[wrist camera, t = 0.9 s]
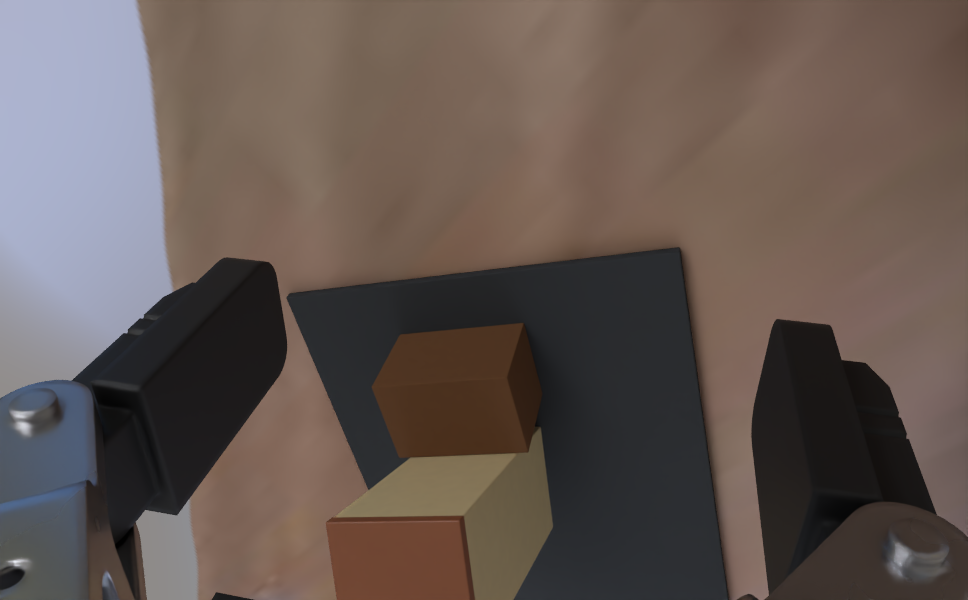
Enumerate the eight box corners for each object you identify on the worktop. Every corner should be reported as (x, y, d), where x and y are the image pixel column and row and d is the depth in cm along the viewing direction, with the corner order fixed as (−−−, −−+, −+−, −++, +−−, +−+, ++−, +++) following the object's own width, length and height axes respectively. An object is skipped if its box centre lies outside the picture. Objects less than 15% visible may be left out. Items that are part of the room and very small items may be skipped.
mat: (289, 293, 36) (245, 346, 33) (679, 246, 31) (679, 304, 27) (424, 612, 47) (403, 679, 44) (731, 620, 42) (736, 697, 38)
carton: (414, 347, 36) (300, 571, 25) (517, 338, 34) (443, 572, 24) (465, 497, 40) (387, 741, 30) (559, 495, 39) (512, 752, 28)
